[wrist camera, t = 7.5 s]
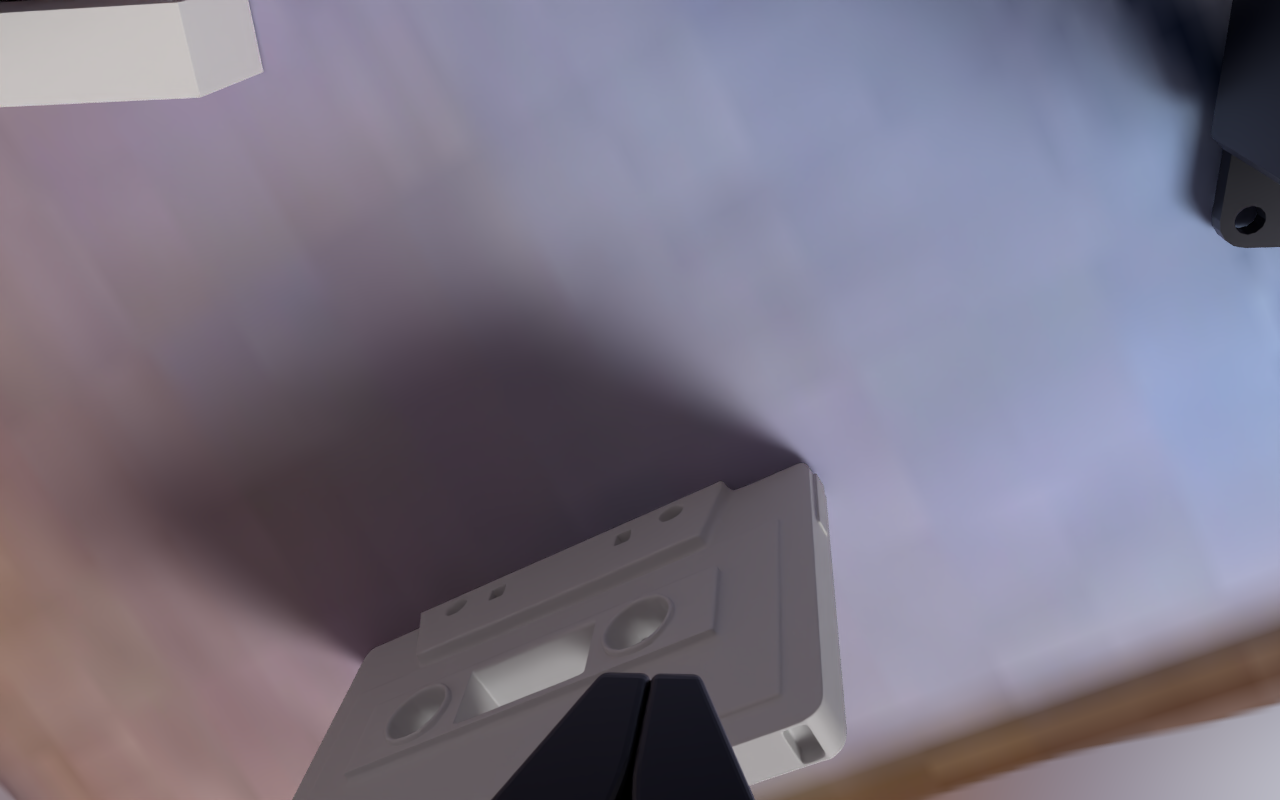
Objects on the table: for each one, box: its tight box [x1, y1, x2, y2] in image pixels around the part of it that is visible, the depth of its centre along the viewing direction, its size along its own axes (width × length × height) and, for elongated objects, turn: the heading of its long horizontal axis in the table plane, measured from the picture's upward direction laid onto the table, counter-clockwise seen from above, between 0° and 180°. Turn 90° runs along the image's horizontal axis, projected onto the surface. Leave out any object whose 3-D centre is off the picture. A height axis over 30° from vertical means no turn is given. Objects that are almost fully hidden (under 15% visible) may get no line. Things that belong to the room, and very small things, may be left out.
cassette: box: [292, 463, 847, 800], centre depth 21 cm, size 12×2×8 cm, turn 121°
